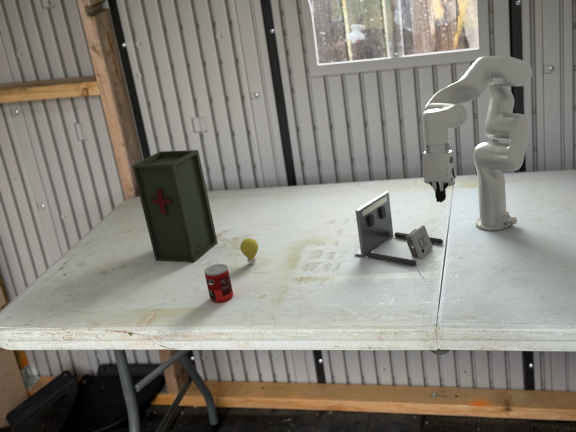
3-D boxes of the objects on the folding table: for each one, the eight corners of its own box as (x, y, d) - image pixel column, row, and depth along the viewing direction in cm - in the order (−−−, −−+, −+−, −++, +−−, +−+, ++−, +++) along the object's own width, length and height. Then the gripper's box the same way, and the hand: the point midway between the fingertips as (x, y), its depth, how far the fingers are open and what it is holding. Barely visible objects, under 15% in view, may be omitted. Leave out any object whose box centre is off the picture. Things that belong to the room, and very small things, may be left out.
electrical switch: (420, 259, 228) (416, 234, 225) (407, 259, 231) (403, 234, 229) (433, 249, 235) (428, 224, 232) (420, 248, 238) (415, 224, 235)
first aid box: (217, 243, 272) (198, 150, 258) (194, 262, 257) (172, 164, 243) (180, 241, 280) (159, 151, 266) (155, 260, 265) (132, 165, 251)
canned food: (210, 294, 228) (204, 266, 224) (233, 290, 228) (227, 262, 224) (210, 305, 221) (203, 275, 217) (233, 300, 221) (227, 271, 217)
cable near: (417, 265, 224) (417, 259, 224) (414, 267, 223) (414, 262, 222) (368, 256, 237) (368, 250, 237) (365, 258, 236) (365, 253, 235)
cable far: (444, 243, 237) (443, 238, 237) (441, 245, 236) (441, 240, 235) (396, 235, 250) (395, 231, 250) (393, 237, 249) (393, 233, 248)
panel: (395, 236, 250) (390, 191, 244) (366, 257, 236) (360, 211, 230) (384, 234, 253) (379, 190, 247) (354, 255, 240) (348, 209, 233)
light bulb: (263, 259, 249) (259, 235, 245) (257, 267, 243) (252, 242, 240) (247, 259, 251) (242, 235, 248) (240, 267, 245) (236, 242, 242)
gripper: (463, 145, 211) (467, 199, 217) (422, 143, 220) (426, 194, 227) (452, 152, 205) (456, 207, 212) (410, 149, 215) (415, 202, 221)
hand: (441, 200), depth 219 cm, fingers closed
